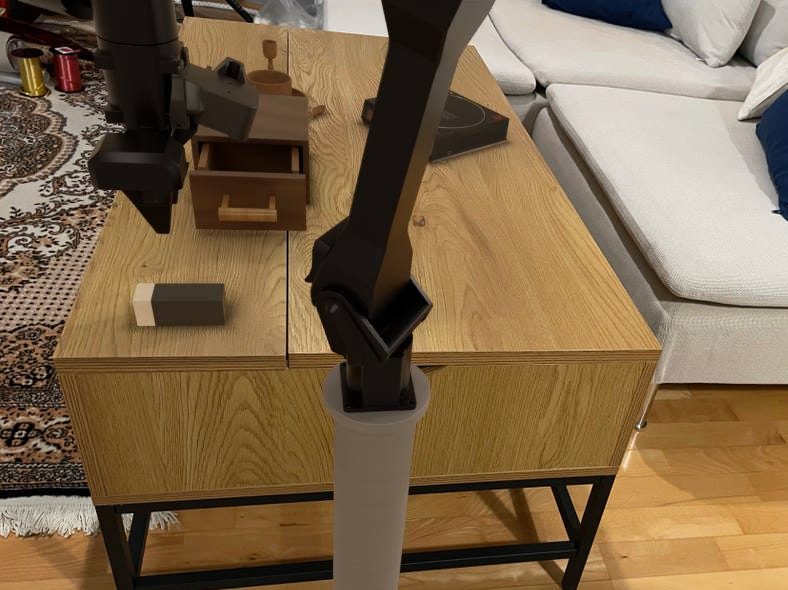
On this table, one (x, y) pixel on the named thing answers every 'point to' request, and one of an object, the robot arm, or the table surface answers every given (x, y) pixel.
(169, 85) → the robot arm
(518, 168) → the table surface
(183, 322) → the black rubber eraser
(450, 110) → the portable cd player
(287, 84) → the place setting
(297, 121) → the cabinet
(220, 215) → the drawer
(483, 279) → the table surface
